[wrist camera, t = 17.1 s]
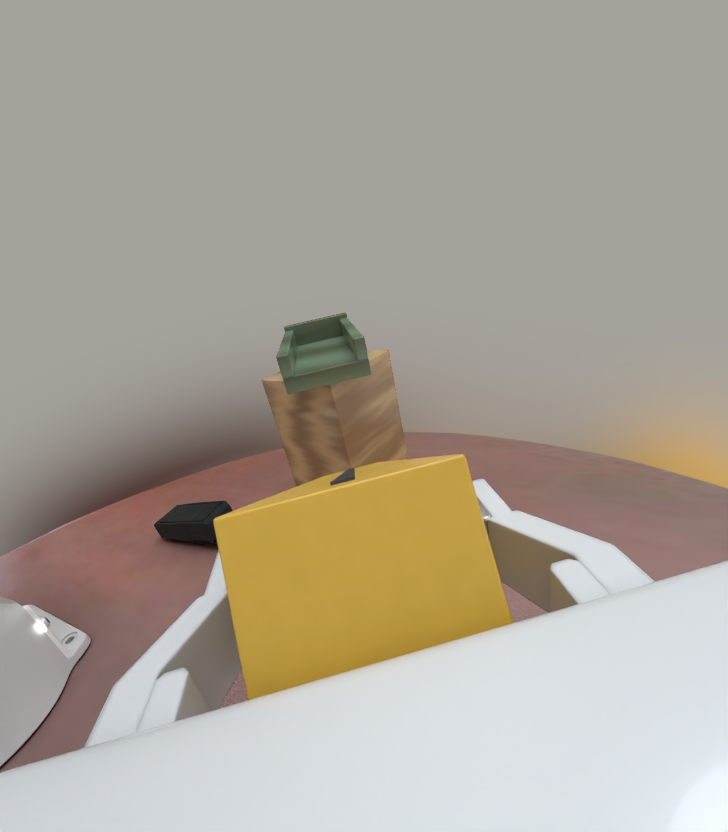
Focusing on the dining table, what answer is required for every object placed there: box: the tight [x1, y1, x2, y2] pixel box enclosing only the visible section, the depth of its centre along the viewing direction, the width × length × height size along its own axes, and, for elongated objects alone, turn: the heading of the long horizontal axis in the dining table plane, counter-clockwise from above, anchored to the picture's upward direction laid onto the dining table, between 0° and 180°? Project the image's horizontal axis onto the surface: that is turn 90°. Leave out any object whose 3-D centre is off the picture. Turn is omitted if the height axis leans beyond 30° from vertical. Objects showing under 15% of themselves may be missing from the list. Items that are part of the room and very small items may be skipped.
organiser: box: [262, 313, 408, 486], centre depth 43 cm, size 15×14×28 cm
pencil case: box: [213, 454, 513, 700], centre depth 17 cm, size 22×4×4 cm
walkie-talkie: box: [154, 501, 232, 545], centre depth 52 cm, size 6×6×20 cm
